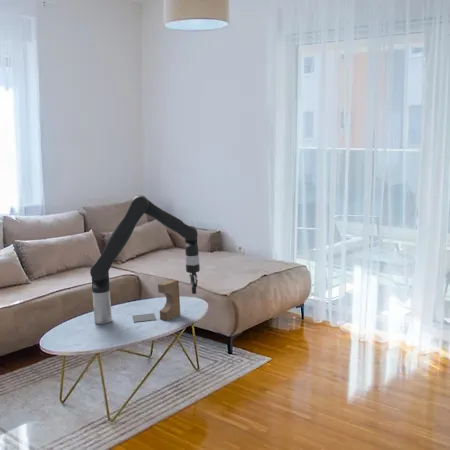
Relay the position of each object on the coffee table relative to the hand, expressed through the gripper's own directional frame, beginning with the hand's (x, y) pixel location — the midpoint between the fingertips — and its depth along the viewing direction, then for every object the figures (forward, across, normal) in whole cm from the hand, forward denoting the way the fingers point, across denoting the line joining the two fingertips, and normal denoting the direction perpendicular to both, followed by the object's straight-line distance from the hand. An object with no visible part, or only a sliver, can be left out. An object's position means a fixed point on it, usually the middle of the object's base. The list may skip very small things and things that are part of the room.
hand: (194, 293), depth 327 cm
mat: (+12, -4, -28) cm, 31 cm away
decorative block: (+12, 0, -14) cm, 18 cm away
